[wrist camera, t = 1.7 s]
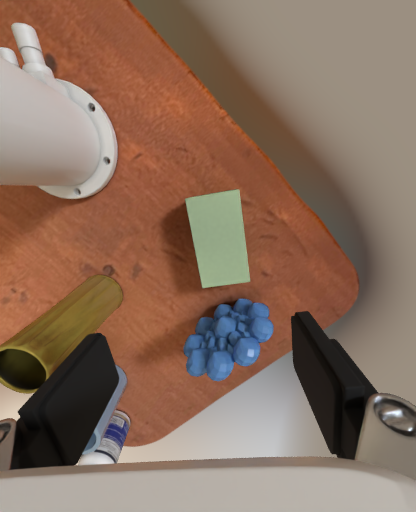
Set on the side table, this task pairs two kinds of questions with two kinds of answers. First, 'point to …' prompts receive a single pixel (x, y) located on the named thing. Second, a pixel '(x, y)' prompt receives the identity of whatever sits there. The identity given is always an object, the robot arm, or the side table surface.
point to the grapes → (228, 339)
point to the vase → (57, 334)
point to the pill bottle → (109, 442)
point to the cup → (107, 414)
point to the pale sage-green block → (219, 238)
